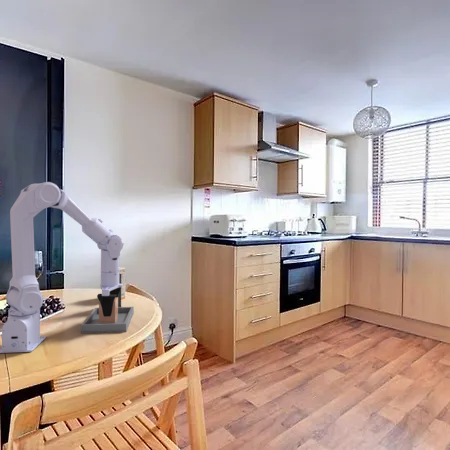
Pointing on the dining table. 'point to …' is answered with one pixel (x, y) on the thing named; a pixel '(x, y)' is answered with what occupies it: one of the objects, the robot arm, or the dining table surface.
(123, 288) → the supplement box
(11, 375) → the dining table surface
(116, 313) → the cup
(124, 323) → the tray
